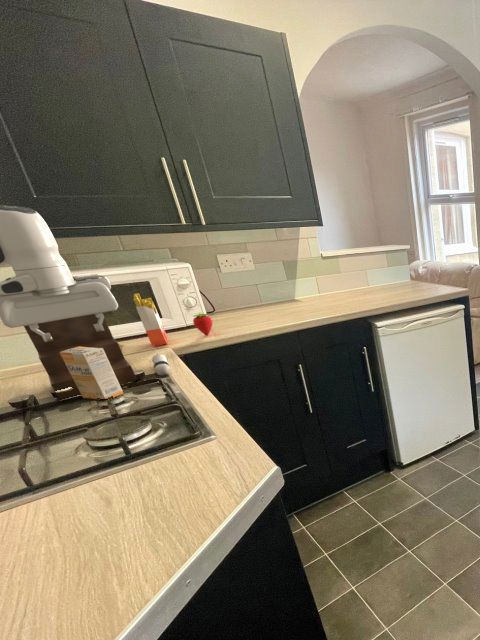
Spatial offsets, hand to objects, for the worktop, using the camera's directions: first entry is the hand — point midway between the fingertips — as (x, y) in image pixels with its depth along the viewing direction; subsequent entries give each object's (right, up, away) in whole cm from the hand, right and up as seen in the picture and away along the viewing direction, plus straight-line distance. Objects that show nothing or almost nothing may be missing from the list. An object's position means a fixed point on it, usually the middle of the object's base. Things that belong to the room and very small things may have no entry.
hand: (75, 335), depth 104 cm
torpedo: (+2, -8, +24) cm, 25 cm away
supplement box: (+1, -15, +7) cm, 17 cm away
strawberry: (-8, +7, +57) cm, 58 cm away
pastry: (-32, -2, +41) cm, 52 cm away
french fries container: (-20, +3, +49) cm, 53 cm away
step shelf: (-10, -12, +15) cm, 22 cm away
